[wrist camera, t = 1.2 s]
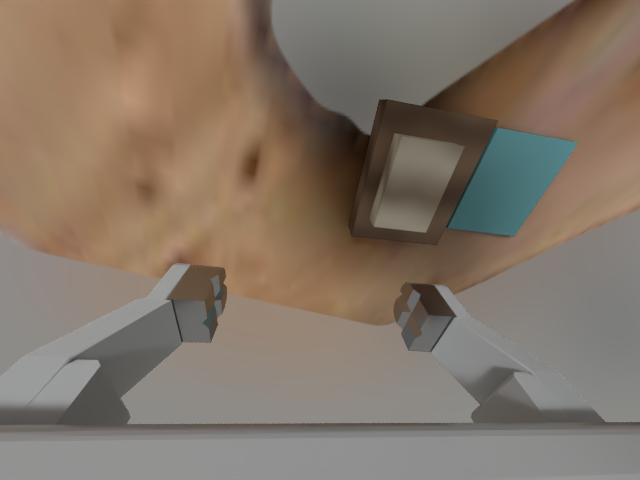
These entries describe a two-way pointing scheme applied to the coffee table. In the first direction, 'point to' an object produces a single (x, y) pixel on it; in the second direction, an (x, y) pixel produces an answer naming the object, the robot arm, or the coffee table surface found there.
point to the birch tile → (413, 182)
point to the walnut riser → (422, 125)
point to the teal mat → (509, 181)
